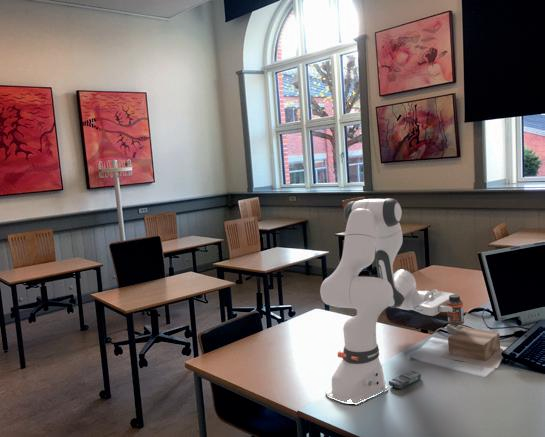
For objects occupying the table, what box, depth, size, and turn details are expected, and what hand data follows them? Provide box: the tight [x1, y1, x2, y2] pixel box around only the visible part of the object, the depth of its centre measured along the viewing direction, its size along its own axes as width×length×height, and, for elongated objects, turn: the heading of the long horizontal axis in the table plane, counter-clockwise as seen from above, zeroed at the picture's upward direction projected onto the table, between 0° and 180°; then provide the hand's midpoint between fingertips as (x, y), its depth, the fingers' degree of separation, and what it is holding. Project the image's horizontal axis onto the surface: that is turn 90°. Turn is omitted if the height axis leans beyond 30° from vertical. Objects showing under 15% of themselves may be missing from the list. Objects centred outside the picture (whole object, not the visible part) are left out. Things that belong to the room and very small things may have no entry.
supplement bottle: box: [447, 293, 465, 326], centre depth 193 cm, size 6×6×11 cm
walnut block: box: [447, 326, 501, 362], centre depth 190 cm, size 14×14×6 cm
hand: (457, 306), depth 193 cm, fingers closed on supplement bottle, 6 cm apart
